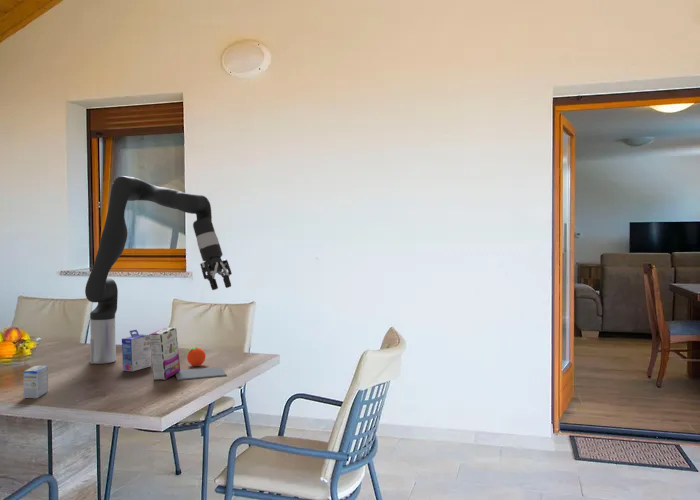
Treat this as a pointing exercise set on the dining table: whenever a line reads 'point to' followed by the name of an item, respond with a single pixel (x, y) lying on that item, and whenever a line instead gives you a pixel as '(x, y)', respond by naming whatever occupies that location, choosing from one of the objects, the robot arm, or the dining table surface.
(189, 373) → the mat
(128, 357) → the ink cartridge box
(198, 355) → the clementine
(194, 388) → the dining table surface
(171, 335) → the candy bar box
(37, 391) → the medicine box
